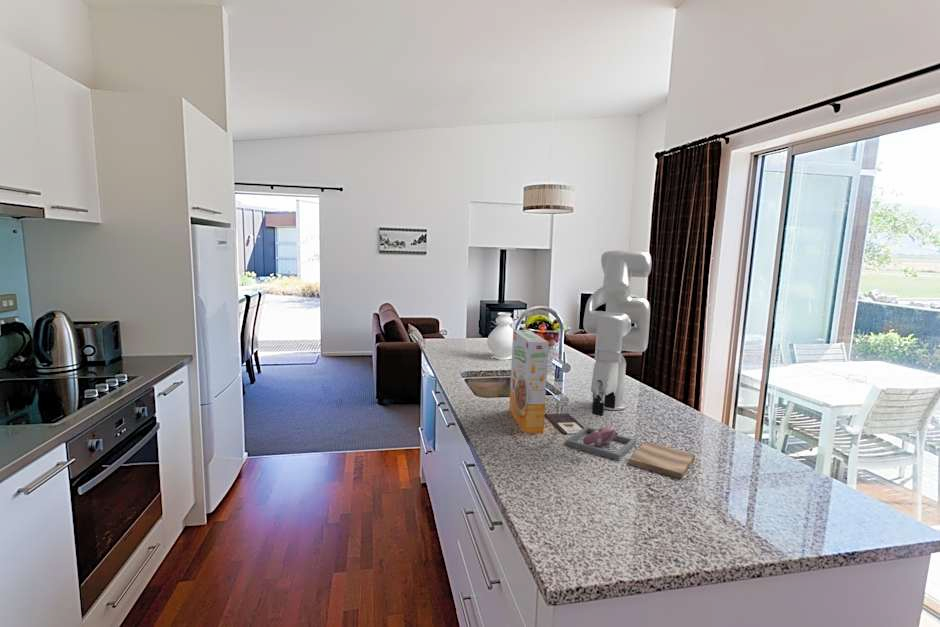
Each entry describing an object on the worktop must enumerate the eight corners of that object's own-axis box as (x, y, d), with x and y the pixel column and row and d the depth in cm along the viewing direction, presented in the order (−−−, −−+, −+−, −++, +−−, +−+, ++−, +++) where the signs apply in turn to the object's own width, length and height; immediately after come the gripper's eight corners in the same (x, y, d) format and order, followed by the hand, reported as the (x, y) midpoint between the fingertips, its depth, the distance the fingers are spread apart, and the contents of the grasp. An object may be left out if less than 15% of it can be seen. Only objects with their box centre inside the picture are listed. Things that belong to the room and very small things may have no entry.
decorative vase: (502, 353, 275) (504, 310, 271) (525, 359, 261) (527, 314, 258) (479, 356, 263) (481, 312, 260) (502, 363, 250) (504, 316, 246)
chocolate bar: (568, 413, 172) (589, 432, 154) (568, 415, 172) (589, 434, 154) (544, 414, 170) (563, 433, 153) (544, 416, 170) (563, 435, 153)
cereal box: (509, 410, 174) (513, 330, 170) (525, 410, 175) (529, 330, 171) (524, 433, 152) (529, 342, 148) (543, 433, 153) (548, 342, 149)
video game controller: (589, 452, 143) (598, 436, 140) (580, 441, 146) (589, 425, 143) (613, 447, 148) (622, 431, 144) (604, 436, 151) (613, 420, 148)
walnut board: (645, 446, 146) (645, 441, 145) (694, 459, 137) (695, 454, 137) (628, 463, 133) (628, 458, 133) (681, 479, 125) (682, 473, 124)
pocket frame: (585, 430, 157) (586, 426, 156) (635, 444, 147) (636, 439, 147) (565, 444, 144) (566, 440, 144) (618, 460, 135) (619, 455, 134)
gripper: (606, 350, 151) (602, 402, 153) (584, 357, 137) (580, 415, 139) (629, 354, 147) (625, 407, 149) (609, 361, 133) (605, 421, 135)
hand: (603, 411), depth 144 cm, fingers open, 9 cm apart
